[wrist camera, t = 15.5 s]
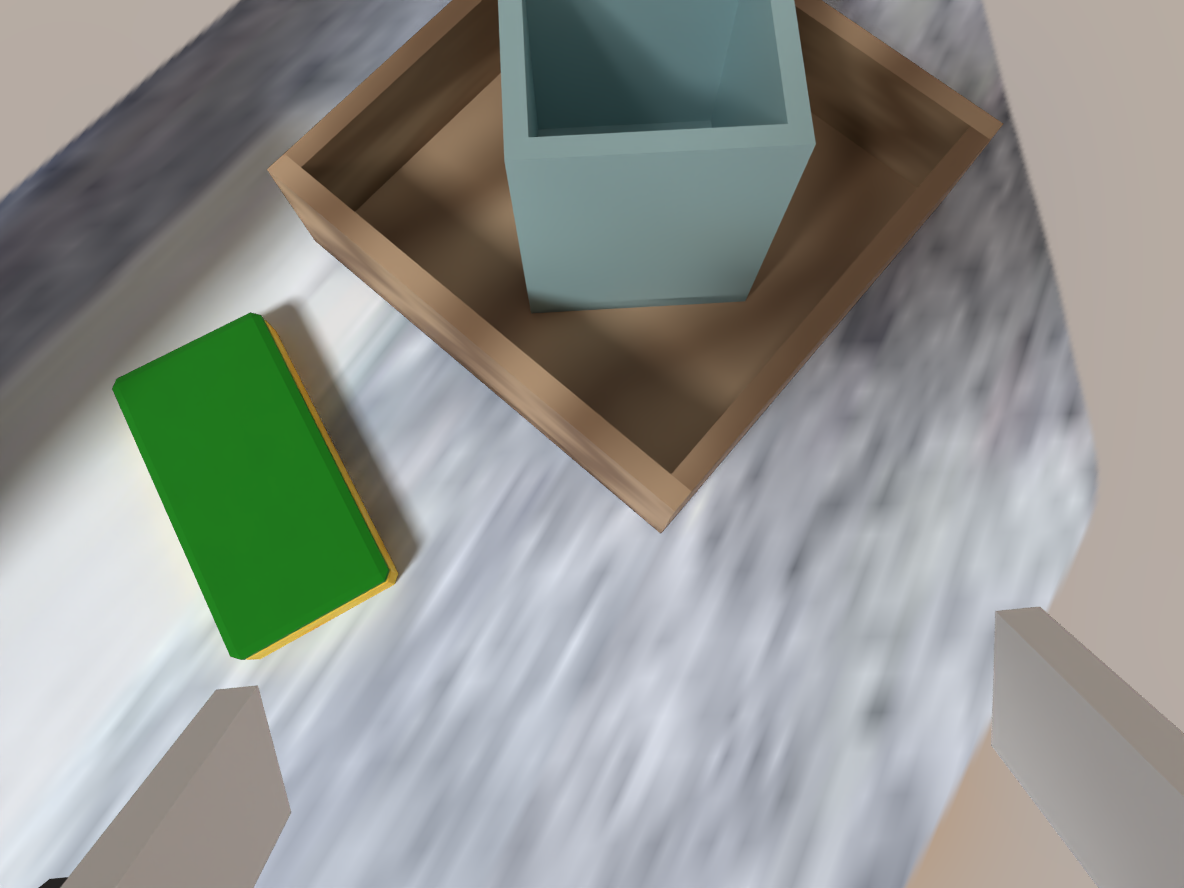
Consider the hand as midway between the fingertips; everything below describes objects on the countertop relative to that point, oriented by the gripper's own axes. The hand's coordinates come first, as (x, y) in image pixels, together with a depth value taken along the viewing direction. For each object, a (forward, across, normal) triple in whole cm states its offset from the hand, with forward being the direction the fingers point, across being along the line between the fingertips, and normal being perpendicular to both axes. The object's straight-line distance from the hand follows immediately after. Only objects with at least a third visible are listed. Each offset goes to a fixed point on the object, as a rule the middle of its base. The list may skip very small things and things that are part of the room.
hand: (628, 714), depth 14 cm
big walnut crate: (+28, +2, +8) cm, 30 cm away
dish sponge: (+22, -16, -2) cm, 27 cm away
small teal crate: (+28, +2, +8) cm, 29 cm away
